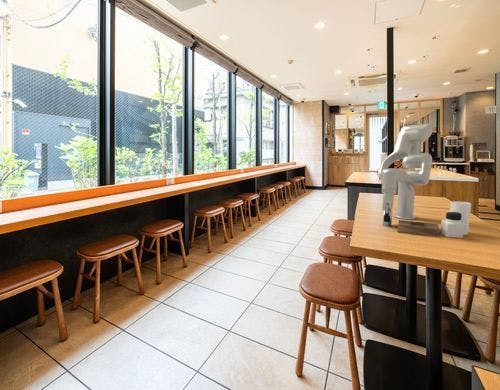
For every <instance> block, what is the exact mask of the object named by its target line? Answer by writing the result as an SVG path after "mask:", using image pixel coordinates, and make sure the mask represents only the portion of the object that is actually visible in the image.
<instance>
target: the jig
mask: <svg viewBox="0 0 500 390" xmlns="http://www.w3.org/2000/svg"><path fill="white" fill-rule="evenodd" d="M397 223H398V224H397V233H400V234H401V233H403V234H411V235H418V236H419V235H420V236H425V237H426V236H430V237H435V238H439V236H440V227H439V224H438V223H432V222H421V221H411V220H405V219H401V220H400V219H399V220H398V222H397Z"/></svg>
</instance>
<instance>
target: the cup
mask: <svg viewBox="0 0 500 390" xmlns="http://www.w3.org/2000/svg"><path fill="white" fill-rule="evenodd" d="M449 206H450V208H449V212H458V213H460V214H462V217H461V221H460V222H461V223H463V224H465V227H464V233H463V236H466V235H469V229H470V227H469V226H470V219H471V210H472V209H471V208H472V203H471V202H467V201H458V200H457V201H451V202H450V205H449Z"/></svg>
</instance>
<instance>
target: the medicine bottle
mask: <svg viewBox="0 0 500 390" xmlns="http://www.w3.org/2000/svg"><path fill="white" fill-rule="evenodd" d="M461 217H462V214H460V213H458V212H450V211H447V212H446V213H445V219H441V222H440V227H439V233H440V234H441V235H443V236H445V237H446V238H456V239H457V238H459V239H461V238H464V235H463V233H464V227H465V224H463V223H461V222H460V221H461Z"/></svg>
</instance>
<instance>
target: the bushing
mask: <svg viewBox="0 0 500 390" xmlns="http://www.w3.org/2000/svg"><path fill="white" fill-rule="evenodd" d="M382 211H383V214H382V226H383V227H392V221H393V220H392V219H393V209H392V210H391V211H390V222H384V212H385V209H384V210H382ZM388 212H389V211H388Z"/></svg>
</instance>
